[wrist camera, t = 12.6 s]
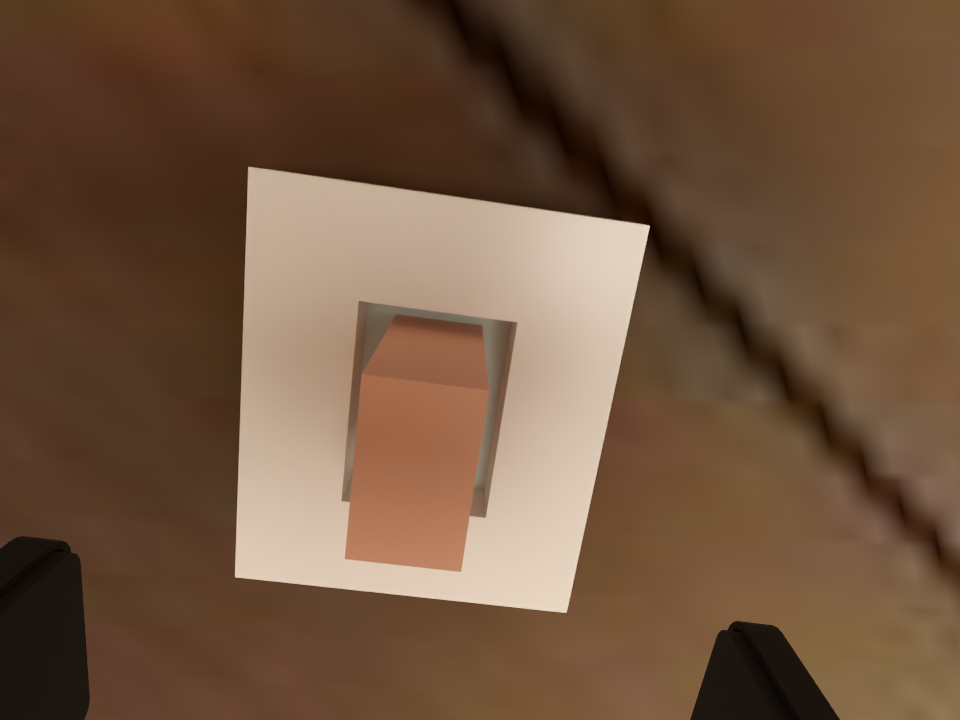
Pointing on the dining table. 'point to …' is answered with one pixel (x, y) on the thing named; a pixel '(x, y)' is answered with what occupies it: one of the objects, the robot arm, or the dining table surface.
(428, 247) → the holder
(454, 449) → the block
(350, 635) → the dining table surface
